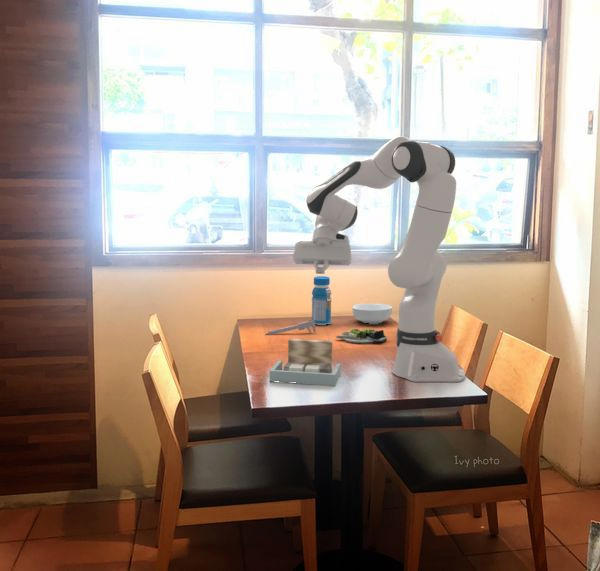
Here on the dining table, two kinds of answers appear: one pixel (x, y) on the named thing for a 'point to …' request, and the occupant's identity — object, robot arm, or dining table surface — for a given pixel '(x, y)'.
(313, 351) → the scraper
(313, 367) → the cream block
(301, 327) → the caliper
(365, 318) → the cereal bowl
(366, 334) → the salad plate
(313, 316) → the beverage bottle
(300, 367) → the cream block
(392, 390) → the dining table surface
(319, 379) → the tray
